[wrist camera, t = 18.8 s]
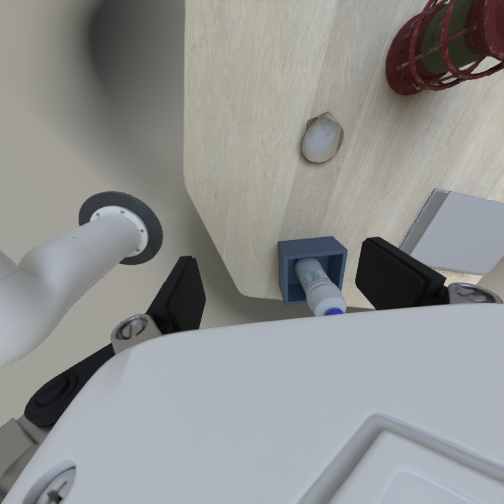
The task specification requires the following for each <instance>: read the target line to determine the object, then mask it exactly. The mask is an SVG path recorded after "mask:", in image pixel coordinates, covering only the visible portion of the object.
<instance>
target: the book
mask: <svg viewBox="0 0 504 504" xmlns="http://www.w3.org/2000/svg"><path fill="white" fill-rule="evenodd" d="M399 249H400V250H402V251H403V252H405V253H407V254H408V255H410V256H412V257H413V258H415V259H416V260H418V261H420V262H421V263H423V264H425V265H426V266H428V267H431V268H437V269H443V270H449V271H456V272H462V273H468V274H474V275H484V274H487V273H488V272H489V271H490V270H491V269H492V268H493V266H494V265H495V264H496V263H497V262H498V261H499V260H500V259H501V257H502V256H503V255H504V203H500V202H496V201H491V200H487V199H482V198H478V197H473V196H469V195H464V194H460V193H455V192H451V191H449V192H448V191H444V190H439V189H434V191H433V192H432V194H431V196H430V197H429V199H428V201H427V202H426V204H425V206H424V207H423V209H422V211H421V213H420V214H419V216H418V218H417V219H416V221H415V223H414V224H413V226H412V228H411V229H410V231H409V233H408V234H407V236H406V238H405V239H404V241H403V243H402V244H401V246H400V248H399Z"/></svg>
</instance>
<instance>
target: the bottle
mask: <svg viewBox="0 0 504 504" xmlns="http://www.w3.org/2000/svg"><path fill="white" fill-rule="evenodd" d="M294 268H295V273H296V275H297V277H298V279H299V280H300V282H301V284H302V287H303V289H304V291H305V293H306V299H307V302H308V305H309V307H310V308H311V309H312V311H313V312H314V314H315V315H316V317H317V316H327V315H337V314H344V313H345V310H346V302H345V300H344V298H343V296H342V294H341V291H340V290H339V289H338V288H337V286H336V285H335V284H334V283H332V282H331V281H330V279H329V278H328V276H327V275H326V273H325V272H324V270H323V269H322V267H321V265H320V263H319V262H318V260H317V259H315V258H313V257H306V258H299V259H298V261H297V262H296V263H295V265H294Z"/></svg>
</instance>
